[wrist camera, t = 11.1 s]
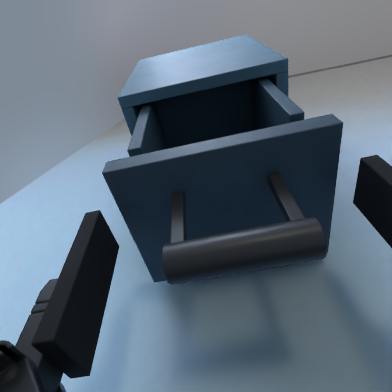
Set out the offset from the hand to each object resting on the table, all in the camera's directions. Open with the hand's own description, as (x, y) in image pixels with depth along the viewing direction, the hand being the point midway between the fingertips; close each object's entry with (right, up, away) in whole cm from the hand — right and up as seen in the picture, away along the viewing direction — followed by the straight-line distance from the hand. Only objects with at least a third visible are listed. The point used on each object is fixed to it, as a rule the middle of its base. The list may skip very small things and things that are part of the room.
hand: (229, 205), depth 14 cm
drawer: (+1, -2, +7) cm, 8 cm away
